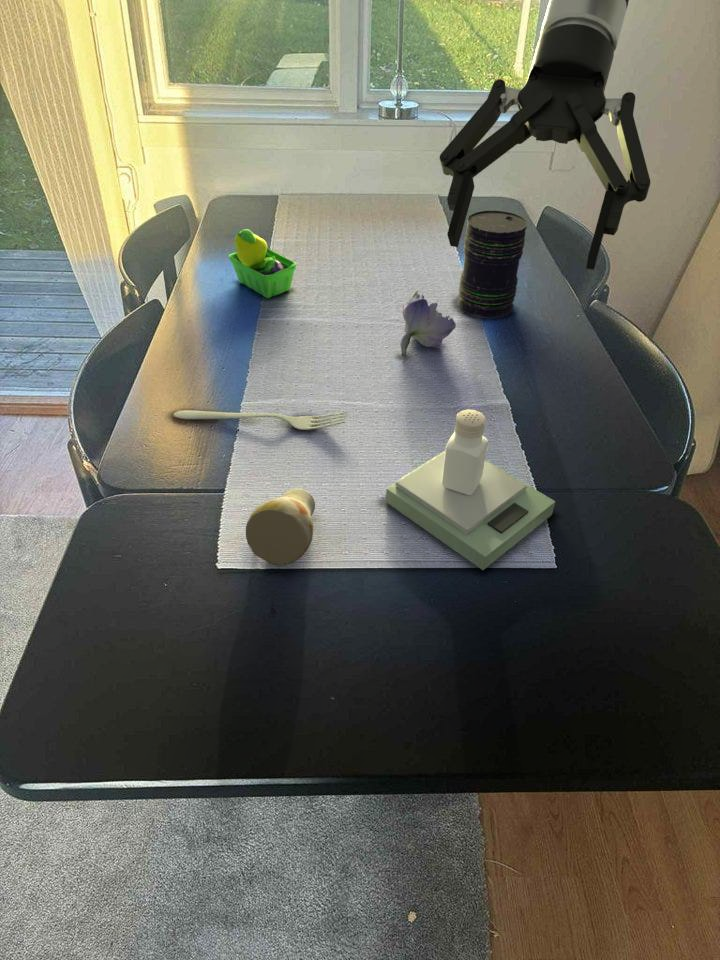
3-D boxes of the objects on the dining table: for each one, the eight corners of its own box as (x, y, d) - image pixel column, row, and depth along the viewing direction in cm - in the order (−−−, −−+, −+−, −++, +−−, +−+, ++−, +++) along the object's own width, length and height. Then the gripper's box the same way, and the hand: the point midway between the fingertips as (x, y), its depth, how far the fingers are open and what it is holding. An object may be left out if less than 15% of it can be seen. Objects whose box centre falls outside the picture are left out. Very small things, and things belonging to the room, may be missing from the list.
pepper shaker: (439, 488, 82) (447, 422, 76) (451, 468, 85) (460, 403, 78) (471, 498, 81) (482, 432, 74) (483, 478, 83) (494, 412, 77)
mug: (331, 509, 84) (335, 482, 74) (297, 583, 80) (297, 565, 71) (274, 485, 84) (270, 455, 75) (238, 558, 81) (230, 536, 71)
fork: (177, 408, 99) (175, 397, 97) (348, 420, 97) (348, 409, 96) (170, 421, 96) (168, 410, 95) (345, 434, 95) (345, 423, 93)
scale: (552, 515, 83) (557, 496, 81) (482, 570, 76) (486, 551, 74) (455, 456, 91) (458, 438, 89) (385, 502, 84) (386, 483, 82)
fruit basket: (300, 290, 127) (297, 229, 120) (260, 305, 123) (255, 242, 115) (263, 270, 134) (258, 210, 126) (224, 283, 129) (216, 222, 122)
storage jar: (486, 324, 119) (499, 237, 109) (445, 303, 124) (454, 218, 115) (524, 307, 123) (540, 223, 114) (484, 288, 129) (495, 206, 119)
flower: (423, 332, 103) (441, 279, 106) (376, 339, 108) (395, 288, 112) (451, 369, 109) (467, 318, 113) (406, 373, 114) (422, 324, 118)
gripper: (701, 84, 69) (647, 288, 68) (458, 62, 76) (405, 247, 75) (720, 29, 62) (660, 256, 61) (449, 10, 69) (391, 214, 68)
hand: (519, 252), depth 68 cm, fingers open, 13 cm apart
